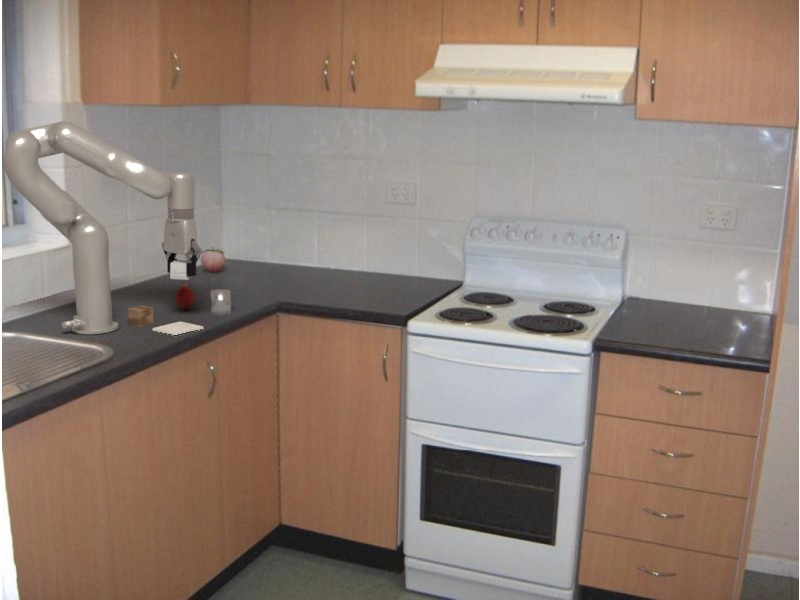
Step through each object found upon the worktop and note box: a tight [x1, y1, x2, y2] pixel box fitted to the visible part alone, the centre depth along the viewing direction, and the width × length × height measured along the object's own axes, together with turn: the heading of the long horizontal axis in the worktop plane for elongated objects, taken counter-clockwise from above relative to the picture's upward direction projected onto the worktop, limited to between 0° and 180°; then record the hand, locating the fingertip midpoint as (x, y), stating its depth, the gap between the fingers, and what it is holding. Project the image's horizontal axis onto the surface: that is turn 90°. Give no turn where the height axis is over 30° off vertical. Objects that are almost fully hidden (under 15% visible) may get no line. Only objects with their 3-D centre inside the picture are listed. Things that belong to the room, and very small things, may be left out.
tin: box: [210, 288, 232, 316], centre depth 271 cm, size 6×6×7 cm
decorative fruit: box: [200, 246, 226, 273], centre depth 337 cm, size 9×8×10 cm
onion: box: [175, 283, 196, 310], centre depth 276 cm, size 6×6×8 cm
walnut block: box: [127, 305, 155, 328], centre depth 257 cm, size 5×5×5 cm
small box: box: [169, 259, 194, 281], centre depth 258 cm, size 6×6×5 cm
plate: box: [152, 321, 204, 336], centre depth 251 cm, size 10×10×1 cm
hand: (181, 273), depth 259 cm, fingers closed on small box, 7 cm apart
